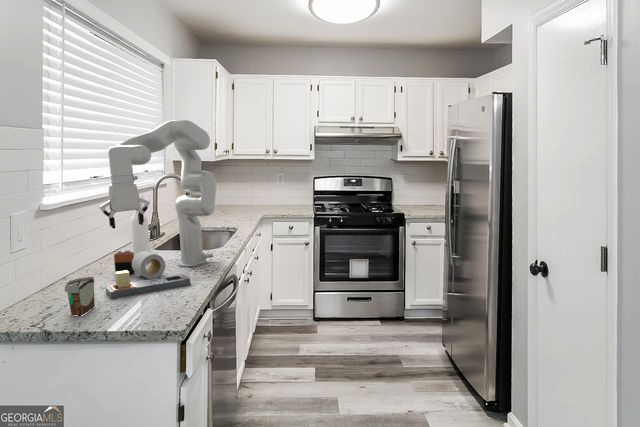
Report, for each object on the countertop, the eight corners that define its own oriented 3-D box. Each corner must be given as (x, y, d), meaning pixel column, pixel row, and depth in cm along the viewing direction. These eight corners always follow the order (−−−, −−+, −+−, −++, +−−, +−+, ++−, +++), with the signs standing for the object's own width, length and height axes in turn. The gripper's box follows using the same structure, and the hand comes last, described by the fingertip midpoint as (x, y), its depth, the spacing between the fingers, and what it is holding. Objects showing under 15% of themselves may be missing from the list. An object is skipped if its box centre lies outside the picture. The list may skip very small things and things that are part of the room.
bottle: (150, 258, 225) (145, 197, 221) (151, 261, 218) (146, 198, 214) (132, 260, 222) (127, 198, 218) (133, 263, 215) (128, 199, 211)
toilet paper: (166, 276, 189) (164, 252, 188) (141, 281, 183) (139, 256, 182) (156, 272, 197) (154, 249, 196) (132, 276, 190) (130, 253, 189)
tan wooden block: (128, 291, 168) (126, 270, 167) (131, 293, 165) (129, 272, 164) (116, 293, 166) (115, 271, 165) (119, 296, 163) (117, 273, 162)
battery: (131, 275, 193) (129, 251, 192) (115, 275, 193) (113, 252, 192) (135, 272, 197) (133, 249, 196) (119, 273, 197) (117, 250, 196)
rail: (182, 280, 182) (182, 273, 182) (190, 284, 175) (190, 277, 174) (106, 293, 166) (105, 285, 166) (111, 299, 159) (110, 291, 159)
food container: (77, 306, 152) (74, 277, 151) (96, 305, 152) (94, 276, 151) (59, 319, 140) (56, 287, 138) (80, 318, 140) (77, 286, 139)
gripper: (144, 177, 176) (148, 222, 179) (94, 181, 166) (100, 228, 169) (149, 178, 170) (154, 224, 173) (98, 182, 160) (104, 230, 163)
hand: (127, 226), depth 171 cm, fingers open, 9 cm apart
